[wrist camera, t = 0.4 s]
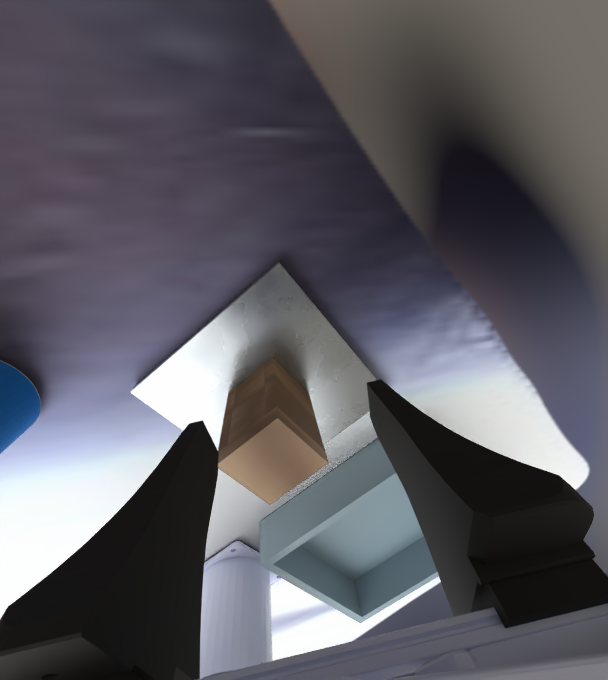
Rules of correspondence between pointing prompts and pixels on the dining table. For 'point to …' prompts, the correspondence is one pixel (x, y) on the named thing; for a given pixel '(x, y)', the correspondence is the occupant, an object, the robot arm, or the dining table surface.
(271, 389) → the brown wooden block
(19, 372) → the beverage can
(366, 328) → the dining table surface
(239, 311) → the stud base
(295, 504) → the bin
